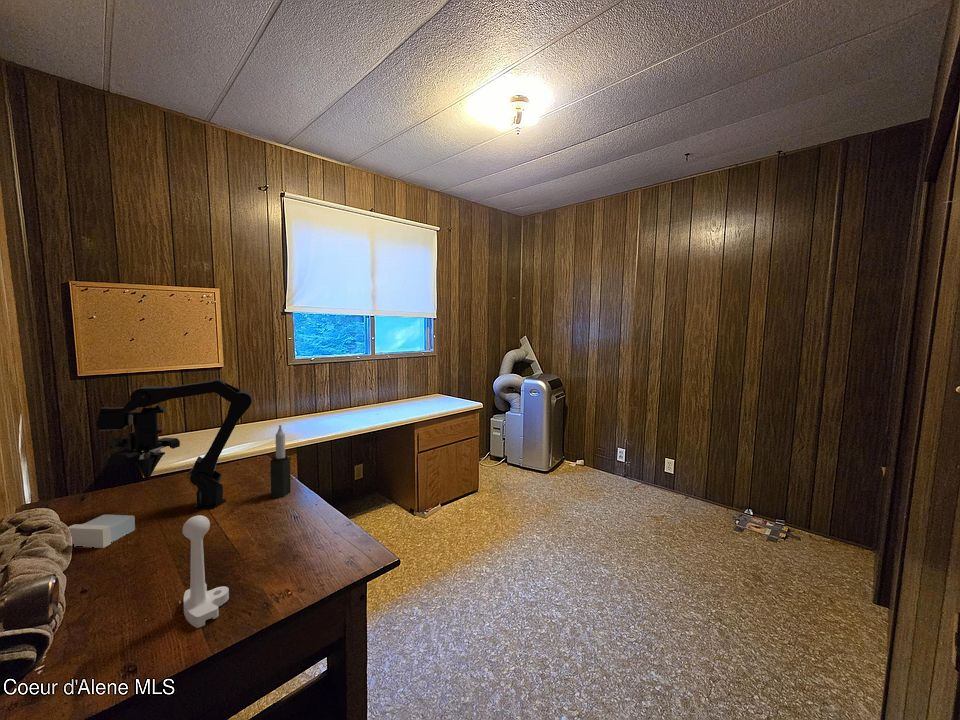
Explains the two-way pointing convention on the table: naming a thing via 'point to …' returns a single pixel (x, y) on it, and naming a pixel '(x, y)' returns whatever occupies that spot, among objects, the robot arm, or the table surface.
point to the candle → (280, 468)
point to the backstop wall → (90, 535)
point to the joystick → (200, 578)
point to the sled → (115, 524)
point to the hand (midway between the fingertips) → (147, 477)
